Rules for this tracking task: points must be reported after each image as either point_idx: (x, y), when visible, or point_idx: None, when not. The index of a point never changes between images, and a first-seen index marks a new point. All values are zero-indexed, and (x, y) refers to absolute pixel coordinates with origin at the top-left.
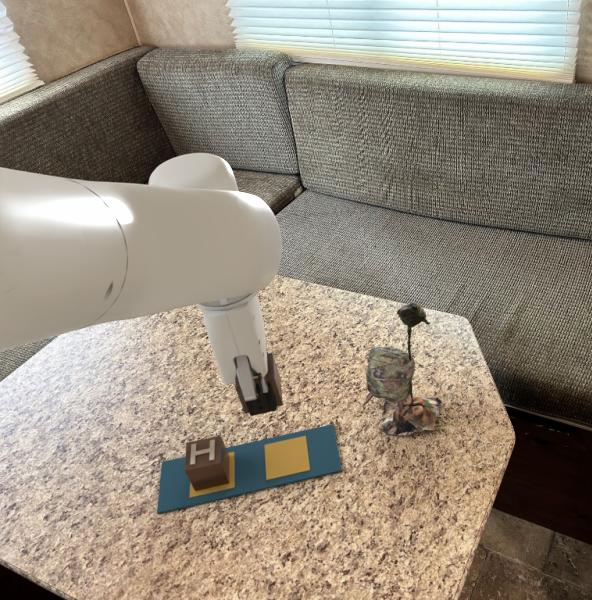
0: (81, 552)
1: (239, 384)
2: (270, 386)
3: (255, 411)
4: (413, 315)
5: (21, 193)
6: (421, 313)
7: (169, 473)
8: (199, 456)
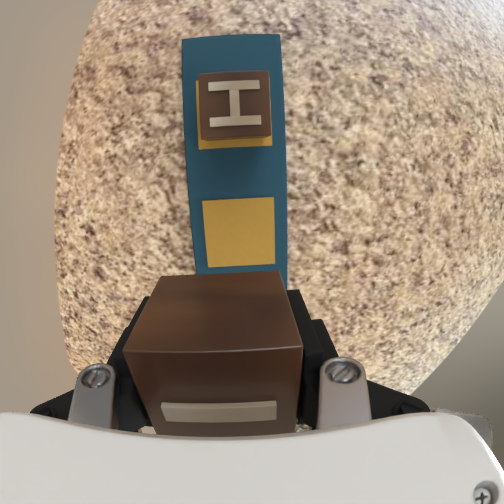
0: None
1: (139, 366)
2: (147, 425)
3: (125, 331)
4: None
5: None
6: None
7: (252, 46)
8: (225, 97)
